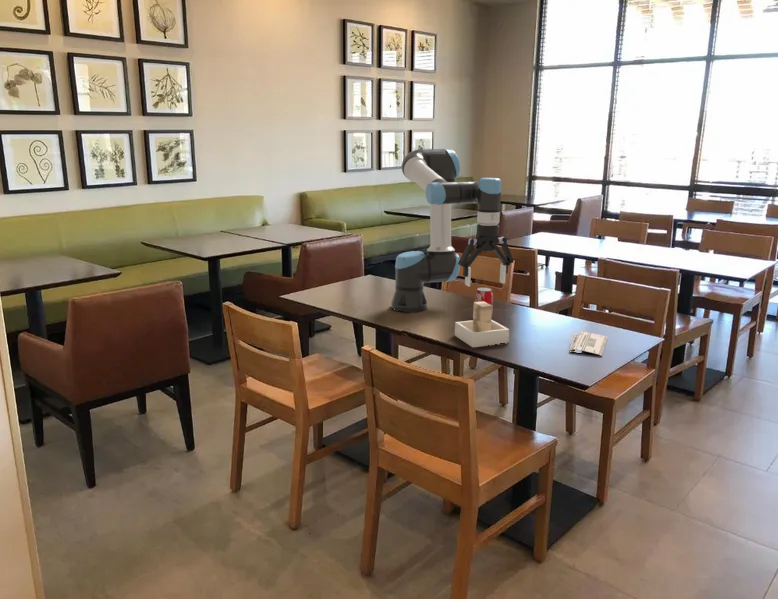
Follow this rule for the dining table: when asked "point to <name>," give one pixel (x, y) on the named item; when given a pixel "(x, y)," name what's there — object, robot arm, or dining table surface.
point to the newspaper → (588, 342)
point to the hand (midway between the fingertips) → (485, 284)
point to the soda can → (484, 295)
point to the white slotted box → (481, 334)
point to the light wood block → (482, 316)
